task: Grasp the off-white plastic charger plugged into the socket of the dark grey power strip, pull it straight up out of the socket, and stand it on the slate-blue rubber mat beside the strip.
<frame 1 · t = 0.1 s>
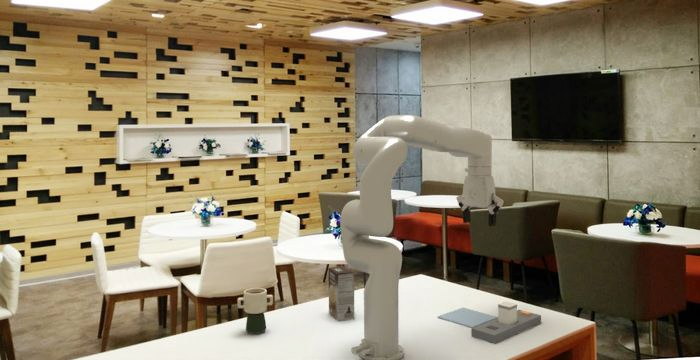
hand: (479, 224, 181), 31 cm above the table, fingers open, 9 cm apart
power strip: (507, 329, 172), on the table
coffee box: (341, 316, 186), on the table
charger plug: (507, 329, 172), resting in power strip
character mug: (256, 332, 172), on the table
slate mat: (467, 317, 183), on the table
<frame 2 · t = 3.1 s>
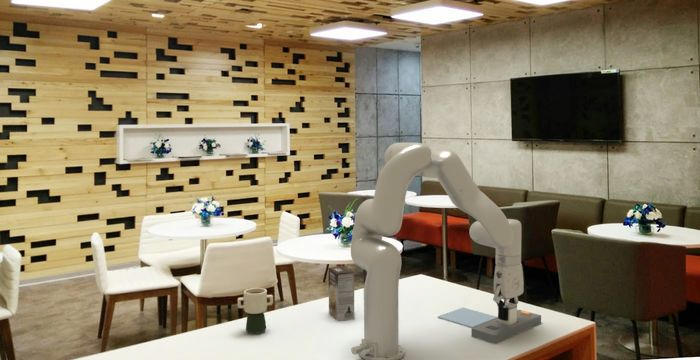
hand: (507, 317, 171), 4 cm above the table, fingers closed on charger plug, 4 cm apart
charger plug: (507, 329, 172), resting in power strip, touching gripper
everything else where it was.
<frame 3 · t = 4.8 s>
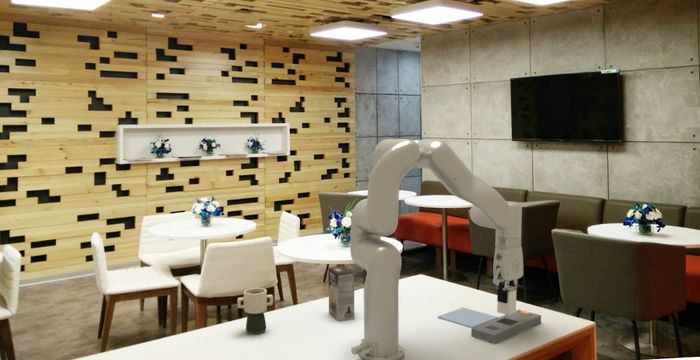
hand: (506, 300, 171), 9 cm above the table, fingers closed on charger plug, 4 cm apart
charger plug: (506, 312, 171), point 5 cm above the table, touching gripper
everything else where it was.
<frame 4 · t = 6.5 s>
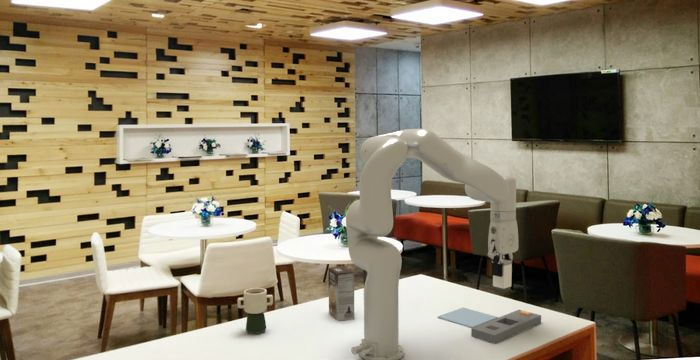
hand: (502, 274, 172), 17 cm above the table, fingers closed on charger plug, 4 cm apart
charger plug: (502, 286, 172), point 13 cm above the table, touching gripper
everything else where it was.
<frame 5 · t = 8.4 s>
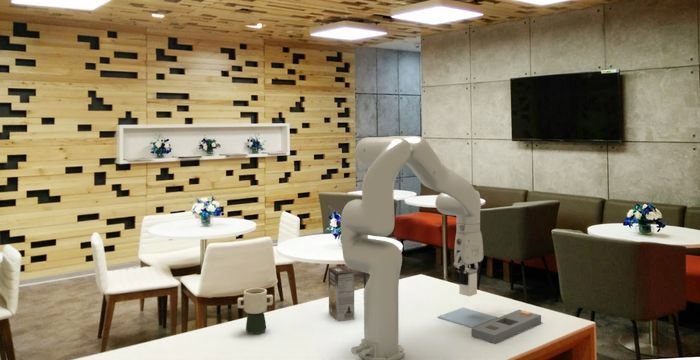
hand: (468, 282, 182), 12 cm above the table, fingers closed on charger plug, 4 cm apart
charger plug: (468, 293, 182), point 8 cm above the table, touching gripper
everything else where it was.
when the fingers open (6 cm above the table, at t = 10.2 s): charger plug drops 1 cm, resting on slate mat.
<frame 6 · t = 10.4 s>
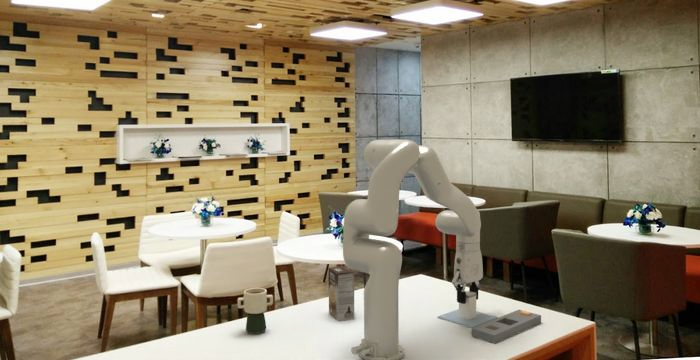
hand: (467, 300, 182), 6 cm above the table, fingers open, 6 cm apart
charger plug: (467, 316, 183), resting on slate mat
everything else where it was.
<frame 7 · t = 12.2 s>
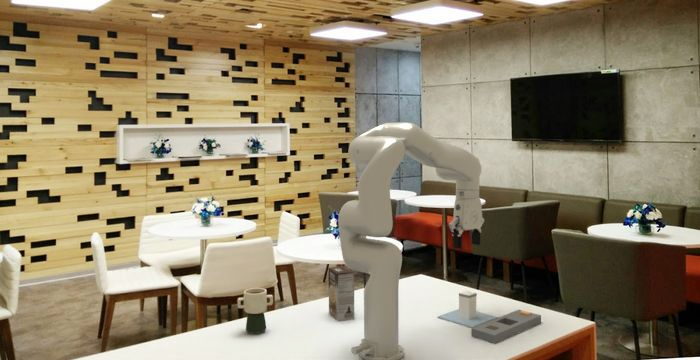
hand: (466, 246, 183), 24 cm above the table, fingers open, 9 cm apart
nothing on the table moved.
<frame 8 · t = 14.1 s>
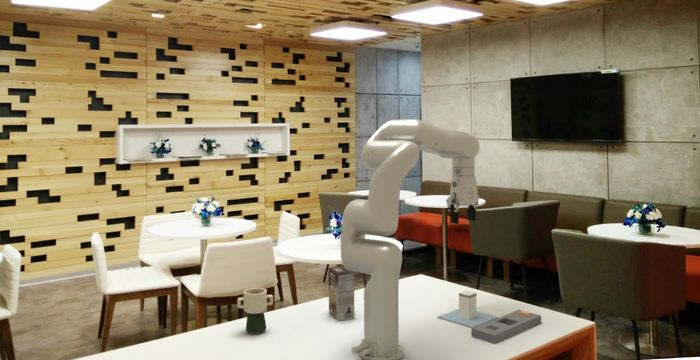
hand: (463, 221, 192), 30 cm above the table, fingers open, 9 cm apart
nothing on the table moved.
at the end: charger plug inside the target area on the slate mat (0.0 cm from its centre), point 0.4 cm above the slate mat's base; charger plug touching slate mat; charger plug tilted 0° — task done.
